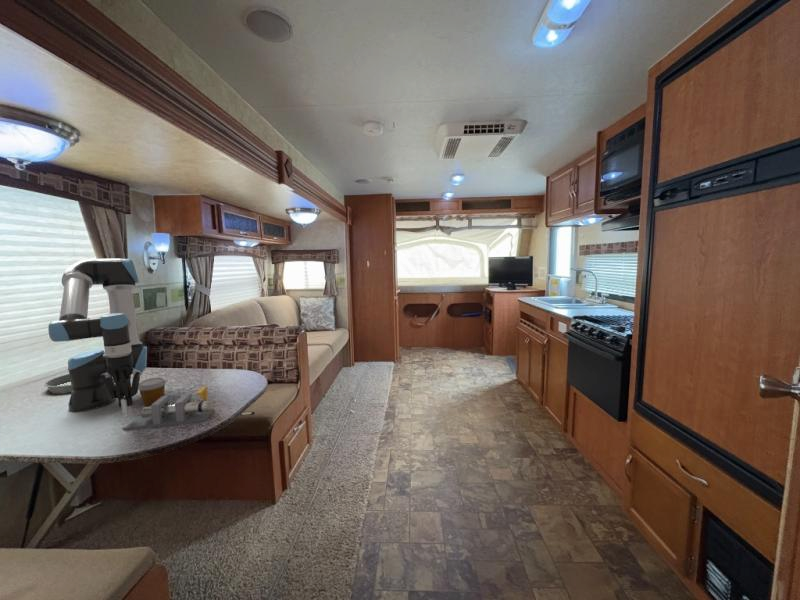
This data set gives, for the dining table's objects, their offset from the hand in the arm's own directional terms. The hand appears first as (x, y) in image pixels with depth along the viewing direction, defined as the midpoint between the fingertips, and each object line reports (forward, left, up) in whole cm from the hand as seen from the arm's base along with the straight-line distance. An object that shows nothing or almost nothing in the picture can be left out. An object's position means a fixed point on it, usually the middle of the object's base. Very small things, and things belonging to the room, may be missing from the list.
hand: (127, 413), depth 124 cm
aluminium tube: (+17, 0, -2) cm, 17 cm away
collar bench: (+15, 0, -4) cm, 15 cm away
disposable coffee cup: (+3, +13, -4) cm, 14 cm away
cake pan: (-50, +53, -5) cm, 73 cm away
